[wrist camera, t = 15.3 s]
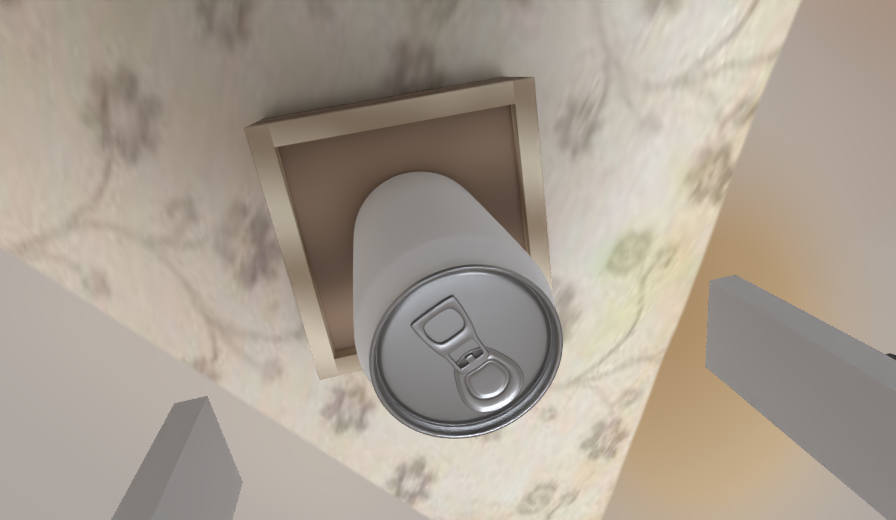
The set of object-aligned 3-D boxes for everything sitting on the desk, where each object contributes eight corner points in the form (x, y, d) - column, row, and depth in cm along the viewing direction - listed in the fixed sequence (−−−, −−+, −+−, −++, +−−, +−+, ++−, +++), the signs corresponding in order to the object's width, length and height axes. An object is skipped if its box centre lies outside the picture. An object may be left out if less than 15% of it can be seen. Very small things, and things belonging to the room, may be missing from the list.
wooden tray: (262, 119, 26) (244, 128, 21) (504, 76, 27) (534, 77, 23) (324, 335, 31) (319, 379, 26) (527, 290, 32) (555, 325, 28)
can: (404, 314, 27) (440, 486, 16) (325, 221, 24) (302, 345, 13) (504, 244, 26) (613, 368, 15) (434, 142, 24) (505, 201, 13)
